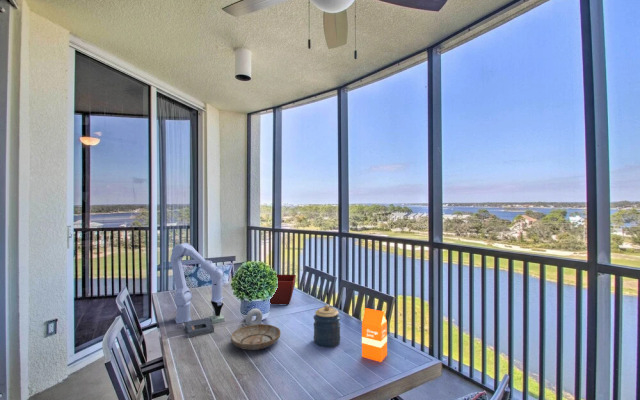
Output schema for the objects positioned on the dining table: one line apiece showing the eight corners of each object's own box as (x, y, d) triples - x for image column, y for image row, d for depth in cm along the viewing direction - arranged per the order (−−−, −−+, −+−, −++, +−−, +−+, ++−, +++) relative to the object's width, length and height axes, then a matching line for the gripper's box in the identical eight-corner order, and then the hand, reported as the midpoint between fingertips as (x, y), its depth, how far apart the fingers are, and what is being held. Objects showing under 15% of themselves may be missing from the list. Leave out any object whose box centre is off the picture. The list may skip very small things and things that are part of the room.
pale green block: (209, 319, 172) (209, 316, 172) (221, 317, 176) (221, 314, 176) (211, 323, 166) (211, 320, 166) (224, 321, 170) (224, 317, 170)
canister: (309, 345, 140) (309, 307, 141) (319, 334, 152) (319, 299, 153) (335, 350, 136) (335, 311, 136) (343, 338, 148) (343, 302, 148)
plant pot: (293, 307, 194) (293, 281, 195) (263, 307, 195) (264, 281, 195) (295, 298, 213) (295, 274, 214) (269, 298, 214) (269, 274, 214)
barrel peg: (212, 316, 172) (212, 304, 172) (219, 315, 174) (219, 303, 174) (213, 318, 168) (213, 306, 169) (221, 317, 170) (221, 305, 171)
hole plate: (185, 326, 163) (185, 321, 163) (208, 322, 169) (208, 317, 169) (189, 337, 149) (189, 332, 149) (214, 332, 155) (214, 327, 155)
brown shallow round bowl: (288, 336, 150) (288, 326, 150) (265, 359, 128) (265, 347, 128) (248, 330, 158) (248, 321, 158) (220, 350, 135) (220, 339, 136)
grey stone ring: (247, 330, 157) (247, 311, 157) (244, 328, 159) (244, 310, 160) (263, 325, 164) (263, 307, 164) (260, 323, 166) (260, 305, 167)
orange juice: (381, 362, 125) (380, 314, 125) (361, 356, 130) (361, 310, 130) (387, 354, 132) (387, 308, 132) (368, 349, 136) (368, 305, 137)
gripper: (227, 292, 167) (226, 317, 167) (221, 286, 180) (221, 309, 180) (213, 294, 164) (213, 319, 163) (209, 288, 176) (208, 311, 176)
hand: (216, 314), depth 171 cm, fingers closed on barrel peg, 4 cm apart
